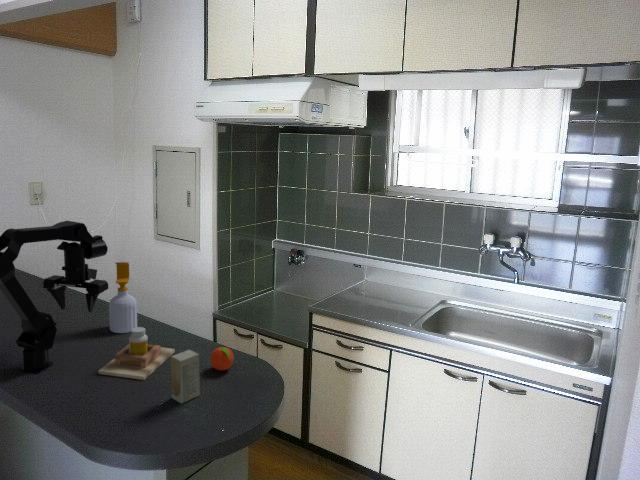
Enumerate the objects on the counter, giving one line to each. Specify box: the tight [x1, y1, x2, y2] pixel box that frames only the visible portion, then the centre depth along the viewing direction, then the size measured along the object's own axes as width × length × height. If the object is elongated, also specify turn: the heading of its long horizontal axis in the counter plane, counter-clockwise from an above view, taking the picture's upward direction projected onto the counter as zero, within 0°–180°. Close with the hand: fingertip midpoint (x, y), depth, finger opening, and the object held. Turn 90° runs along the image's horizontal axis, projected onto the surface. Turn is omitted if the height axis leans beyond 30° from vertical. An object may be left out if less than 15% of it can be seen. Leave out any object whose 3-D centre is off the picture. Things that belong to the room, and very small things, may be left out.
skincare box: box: [170, 349, 200, 404], centre depth 139 cm, size 6×4×12 cm
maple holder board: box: [97, 343, 176, 381], centre depth 159 cm, size 20×14×4 cm
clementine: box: [209, 346, 235, 371], centre depth 156 cm, size 8×7×7 cm
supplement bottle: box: [128, 326, 149, 356], centre depth 158 cm, size 5×5×10 cm
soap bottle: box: [108, 261, 138, 334], centre depth 181 cm, size 9×9×25 cm
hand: (76, 310), depth 163 cm, fingers open, 9 cm apart
